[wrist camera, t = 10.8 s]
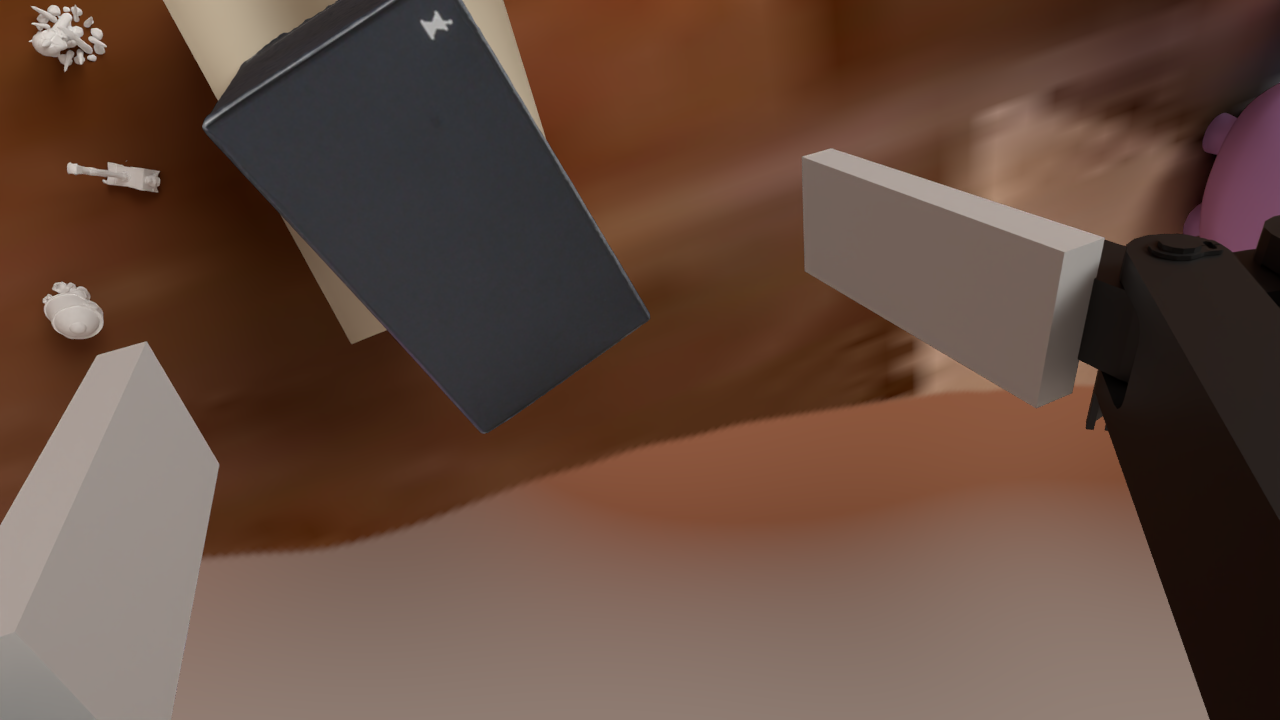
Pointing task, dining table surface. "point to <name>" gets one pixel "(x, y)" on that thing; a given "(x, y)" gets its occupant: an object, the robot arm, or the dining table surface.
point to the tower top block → (277, 3)
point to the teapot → (1241, 175)
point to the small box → (430, 197)
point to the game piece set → (80, 171)
